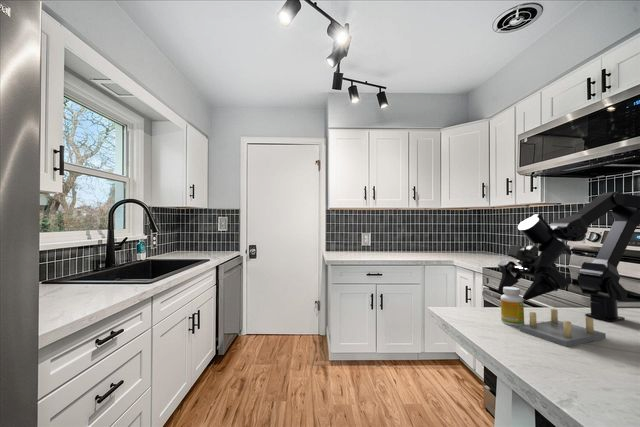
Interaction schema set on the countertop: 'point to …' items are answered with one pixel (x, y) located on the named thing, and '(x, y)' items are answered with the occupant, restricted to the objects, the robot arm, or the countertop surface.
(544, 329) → the plate
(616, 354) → the countertop surface
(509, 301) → the supplement bottle
